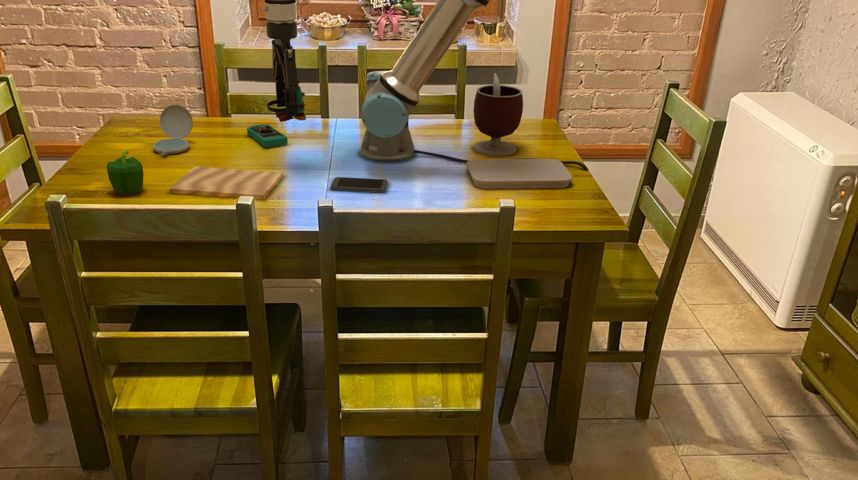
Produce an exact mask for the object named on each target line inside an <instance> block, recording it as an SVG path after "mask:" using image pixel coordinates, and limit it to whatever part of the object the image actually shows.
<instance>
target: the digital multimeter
mask: <svg viewBox="0 0 858 480" xmlns="http://www.w3.org/2000/svg"><path fill="white" fill-rule="evenodd" d="M246 134H247V135H248V136H249V137H250V138H251V139H253V140H254V141H256V142H257V143H259V144H260V145H261V146H262V147H264V148H266V149H267V148H268V149H269V148H276V147H281V146H286V145H288V143H289V142H288V136H286V135H285V134H283V133H281V132H280V131H279V130H277V129H276V128H274V127H273V126H272V125H270V124H268V123H263V124H255V125H251V126H248V127H247V128H246Z"/></svg>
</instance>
